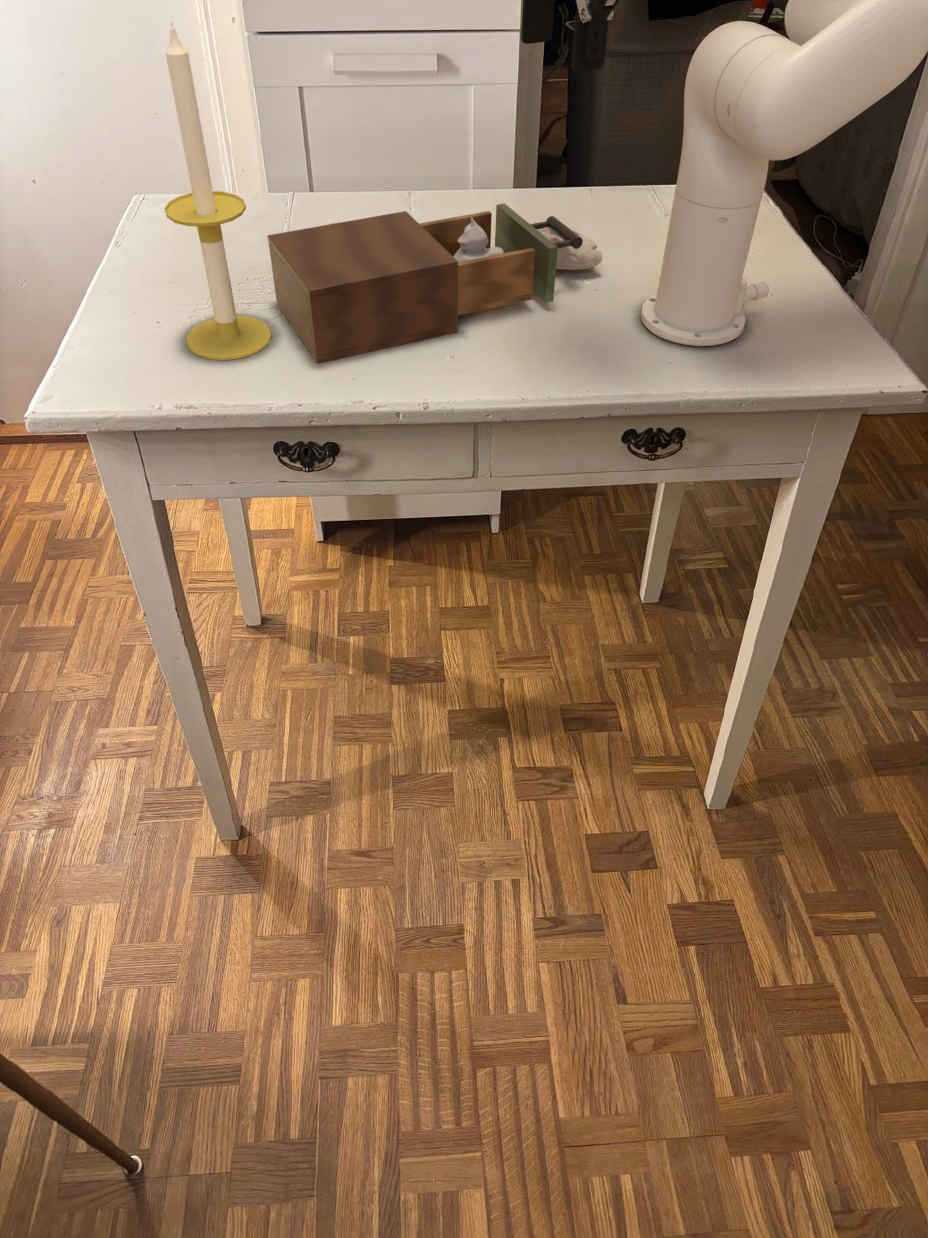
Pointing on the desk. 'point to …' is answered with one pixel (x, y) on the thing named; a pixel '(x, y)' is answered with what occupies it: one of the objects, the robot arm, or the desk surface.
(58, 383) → the desk surface
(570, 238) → the drawer
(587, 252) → the fossil
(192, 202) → the candle
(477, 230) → the rubber duck
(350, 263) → the cabinet
